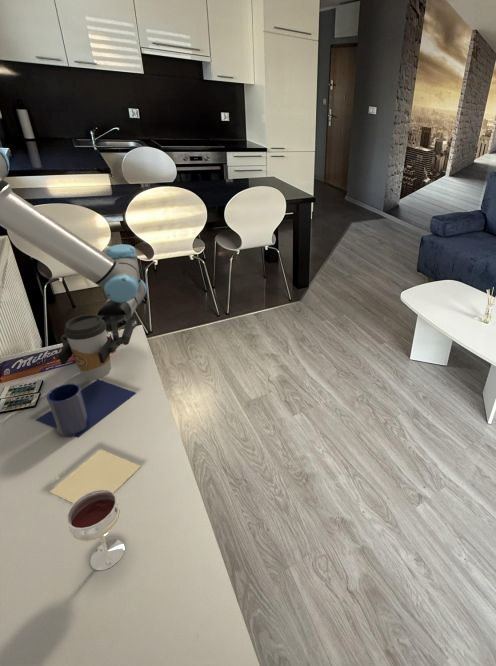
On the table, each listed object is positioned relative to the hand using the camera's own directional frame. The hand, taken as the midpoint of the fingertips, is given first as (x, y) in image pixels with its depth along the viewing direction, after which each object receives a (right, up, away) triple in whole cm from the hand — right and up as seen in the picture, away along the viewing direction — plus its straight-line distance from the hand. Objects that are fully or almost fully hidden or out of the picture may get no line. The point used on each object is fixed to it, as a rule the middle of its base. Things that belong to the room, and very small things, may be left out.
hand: (81, 358), depth 92 cm
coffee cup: (-2, -5, +8) cm, 9 cm away
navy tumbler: (0, -15, -2) cm, 15 cm away
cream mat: (+12, -22, -13) cm, 28 cm away
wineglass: (+22, -29, -25) cm, 44 cm away
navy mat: (-1, -12, +4) cm, 13 cm away
